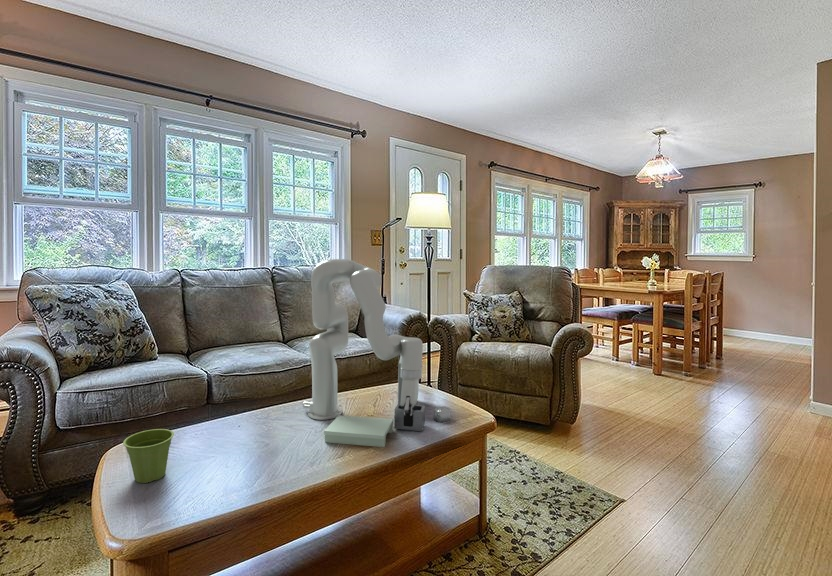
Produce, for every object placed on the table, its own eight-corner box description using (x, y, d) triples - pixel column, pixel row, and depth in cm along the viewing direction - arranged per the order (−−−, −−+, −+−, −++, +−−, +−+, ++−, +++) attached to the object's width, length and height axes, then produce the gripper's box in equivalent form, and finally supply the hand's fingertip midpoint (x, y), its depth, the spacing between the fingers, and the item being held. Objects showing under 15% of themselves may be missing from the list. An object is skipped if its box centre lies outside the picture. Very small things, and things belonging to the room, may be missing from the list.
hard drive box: (417, 413, 168) (417, 363, 166) (397, 413, 168) (397, 363, 166) (417, 400, 183) (418, 354, 182) (399, 400, 183) (400, 353, 182)
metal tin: (433, 422, 160) (433, 411, 160) (435, 416, 166) (435, 406, 165) (449, 423, 159) (449, 412, 159) (450, 417, 165) (450, 407, 164)
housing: (394, 428, 152) (394, 409, 152) (397, 421, 158) (398, 403, 157) (422, 431, 151) (422, 411, 150) (424, 424, 156) (425, 405, 156)
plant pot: (120, 492, 112) (118, 450, 111) (129, 471, 122) (128, 432, 121) (172, 483, 116) (171, 442, 115) (177, 463, 127) (176, 426, 126)
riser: (324, 442, 142) (324, 431, 141) (338, 426, 155) (338, 415, 155) (383, 447, 138) (383, 435, 138) (393, 430, 152) (393, 419, 152)
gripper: (405, 365, 162) (404, 412, 163) (395, 379, 145) (394, 431, 146) (425, 367, 160) (423, 414, 162) (417, 380, 143) (416, 433, 145)
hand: (409, 421), depth 154 cm, fingers closed on housing, 6 cm apart
